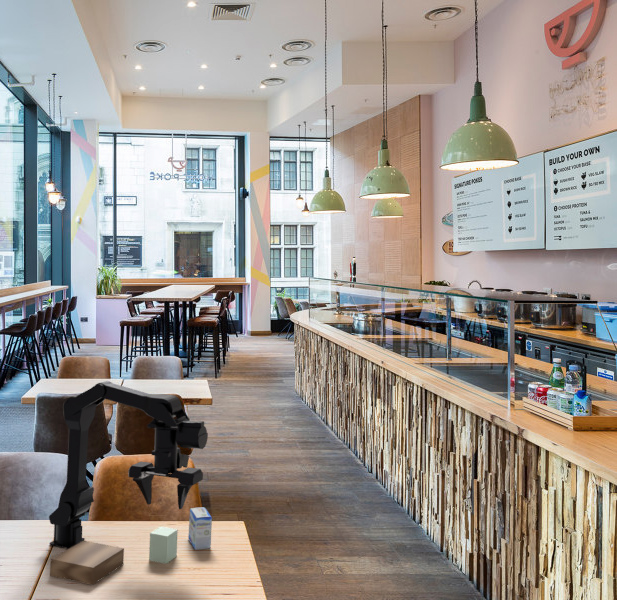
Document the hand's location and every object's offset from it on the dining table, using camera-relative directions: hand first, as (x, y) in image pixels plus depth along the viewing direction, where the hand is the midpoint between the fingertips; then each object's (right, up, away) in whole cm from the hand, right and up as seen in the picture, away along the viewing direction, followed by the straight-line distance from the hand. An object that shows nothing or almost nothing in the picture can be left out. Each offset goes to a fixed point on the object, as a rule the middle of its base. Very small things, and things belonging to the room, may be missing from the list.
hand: (164, 506), depth 162 cm
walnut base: (-17, -13, -8) cm, 23 cm away
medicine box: (+7, -14, +10) cm, 19 cm away
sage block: (-1, -13, 0) cm, 13 cm away
